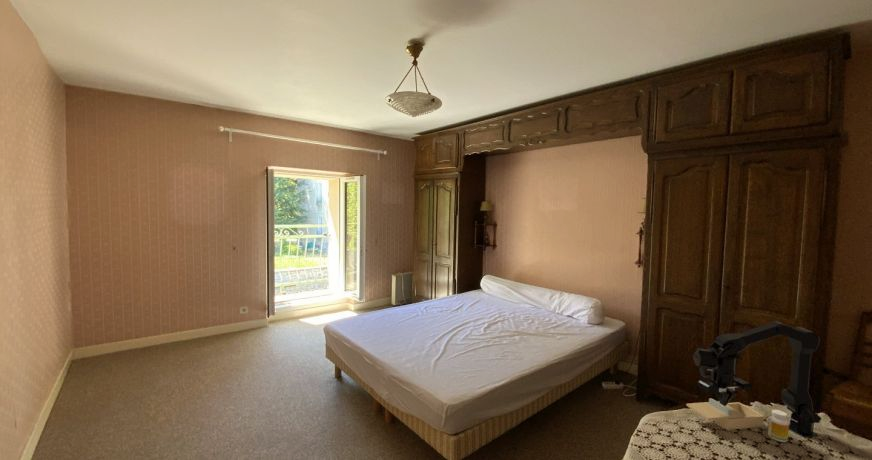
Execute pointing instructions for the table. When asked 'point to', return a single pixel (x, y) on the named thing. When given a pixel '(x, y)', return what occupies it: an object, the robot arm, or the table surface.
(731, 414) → the lid
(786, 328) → the robot arm
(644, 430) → the table surface
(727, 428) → the wooden box
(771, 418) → the supplement bottle
